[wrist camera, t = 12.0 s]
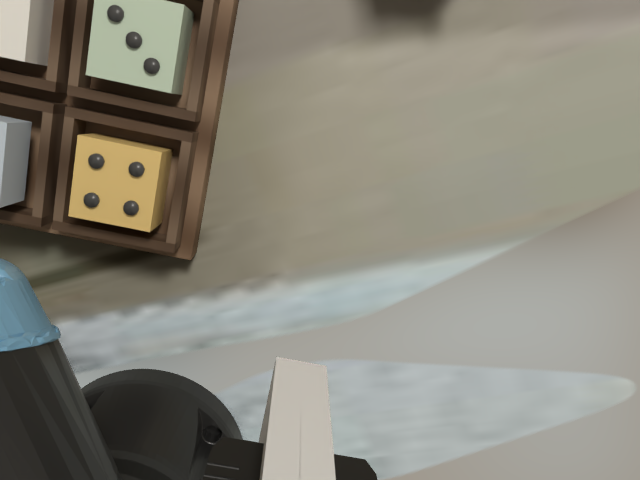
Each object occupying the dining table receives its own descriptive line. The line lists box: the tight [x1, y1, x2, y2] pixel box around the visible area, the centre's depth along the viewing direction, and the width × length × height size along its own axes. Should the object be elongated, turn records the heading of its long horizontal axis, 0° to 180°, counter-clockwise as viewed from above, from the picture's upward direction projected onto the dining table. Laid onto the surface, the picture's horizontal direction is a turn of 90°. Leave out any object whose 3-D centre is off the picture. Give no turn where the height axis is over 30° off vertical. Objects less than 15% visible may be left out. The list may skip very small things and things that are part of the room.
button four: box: [68, 133, 173, 232], centre depth 36 cm, size 5×5×3 cm
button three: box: [86, 0, 194, 95], centre depth 34 cm, size 5×5×3 cm
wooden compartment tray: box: [0, 0, 239, 260], centre depth 36 cm, size 18×18×4 cm
